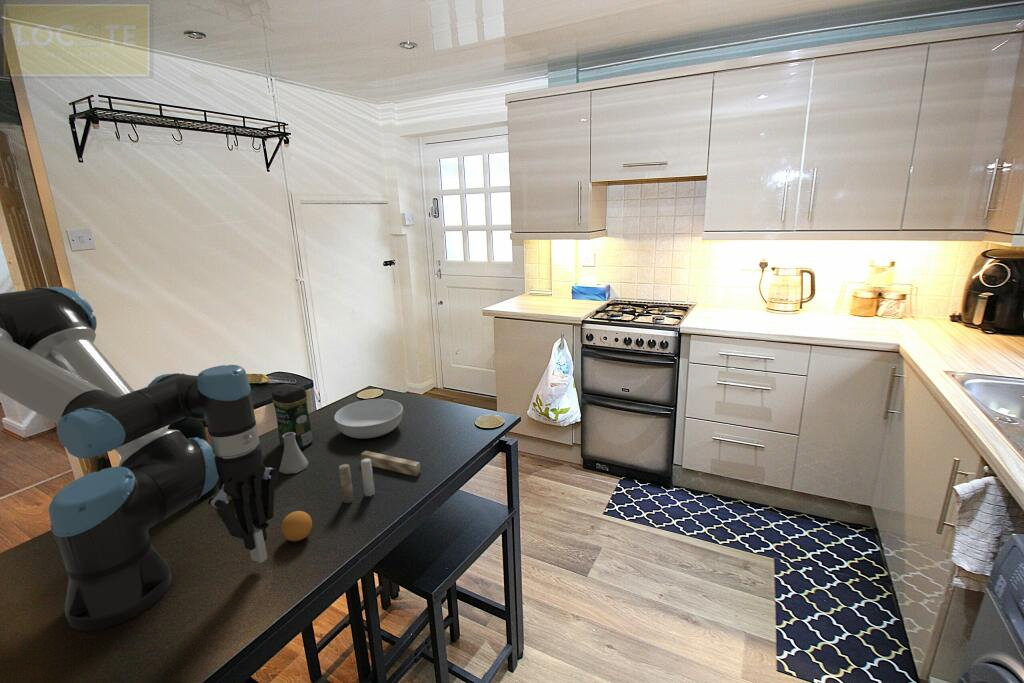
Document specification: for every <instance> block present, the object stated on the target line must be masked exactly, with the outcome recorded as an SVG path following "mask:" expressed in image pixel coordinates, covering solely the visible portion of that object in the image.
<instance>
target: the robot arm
mask: <svg viewBox="0 0 1024 683" xmlns="http://www.w3.org/2000/svg"><path fill="white" fill-rule="evenodd" d="M93 313H94V310H93V307H92V306H91V304H89V302H88V301H87V300H86V299H85V298H84V296H82V295H81V294H80V293H78V292H76V291H75V290H73V289H70V288H67V287H65V286H64V287H63V286H48V287H46V286H39V287H33V288H30V289H28V290H27V289H25V290H19V291H18V290H17V291H10V292H3V293H0V393H1V394H2V395H4V396H6V397H8V398H9V399H12V400H13V401H15V402H16V403H18V404H20V405H22V406H24V407H26V408H27V409H30V410H31V411H33V412H34V413H36V414H38V415H40V416H42V417H43V418H45V419H47V420H49V421H51V422H53V423H55V424H56V435H57V437H58V441H59V443H60V444H61V446H62V447H64V448H65V449H66V450H67V453H69V454H70V455H71V456H72V457H75V458H78V459H90V458H94V457H96V456H99V455H102V454H104V453H108V452H112V451H114V450H115V451H116V453H117V454H118V455H119V456H120V461H119V463H118V466H111V467H107V468H102V469H101V470H99V471H92V472H90V473H88V474H85V475H82V476H80V477H78V478H77V479H75V480H74V481H72V482H70V483H68V484H67V485H66V486H64V487H62V489H60V490H59V491H58V492H57V493H56V494H55V495H54V496H53V498H52V500H51V502H50V503H49V506H48V515H49V516H48V517H49V521H50V530H51V532H52V533H53V535H54V538H55V541H56V543H57V546H58V549H59V551H60V555H61V558H62V560H63V563H64V567H65V570H66V573H67V577H68V581H67V582H68V583H67V590H66V596H65V604H64V614H65V618H66V620H67V623H69V624H68V626H70V627H71V628H72V629H74V630H75V631H76V630H77V631H81V630H82V632H87V631H88V632H89V631H90V632H92V631H98V630H103V629H107V628H108V629H109V628H111V627H113V626H116V624H117V625H119V624H122V623H123V622H126V621H129V620H130V619H133V618H135V617H136V616H138V615H140V614H141V613H144V612H145V611H146V610H148V609H149V608H151V607H152V606H153V605H154V604H156V603H158V602H159V600H160V599H161V598H162V597H163V596H164V595H165V594H166V593H167V592H168V590H169V588H170V587H171V585H172V582H173V575H172V571H171V567H170V565H169V563H168V561H166V560H165V559H164V557H163V556H162V555H161V554H160V553H159V552H158V551H157V549H156V548H155V547H154V546H153V545H152V542H151V539H150V535H149V530H150V528H152V527H154V526H155V525H157V524H158V523H160V522H162V521H164V520H165V519H167V518H169V517H170V516H171V515H173V514H175V513H176V512H178V511H180V510H181V509H183V508H185V507H186V506H188V505H190V504H191V502H192V503H194V502H193V501H196V500H198V499H199V498H200V497H201V496H202V495H204V494H205V493H207V492H208V491H210V490H211V489H212V488H213V487H214V486H215V485H216V483H217V484H218V479H219V480H220V481H219V485H218V489H219V492H217V494H216V495H215V497H209V499H208V501H207V504H208V505H209V506H211V507H212V508H213V509H215V510H216V511H217V513H218V516H220V519H221V520H222V522H223V524H224V525H225V528H226V529H227V531H228V532H229V534H230V536H231V537H234V538H237V539H240V540H243V545H244V548H245V549H246V550H249V553H250V554H249V555H250V559H251V560H252V561H254V562H257V563H259V564H262V563H263V562H265V561H266V560H267V559H268V554H267V548H266V542H265V541H267V538H268V534H267V530H266V529H267V528H268V527H270V526H269V525H270V523H269V520H272V519H273V517H274V509H275V508H274V507H275V503H274V502H275V482H276V478H277V475H278V472H279V470H278V469H276V468H273V467H270V466H265V465H264V457H263V451H262V446H261V445H260V437H259V431H258V426H257V422H256V421H257V420H256V414H255V408H254V404H253V398H252V391H251V390H252V388H251V387H252V386H251V385H250V383H249V382H250V381H249V379H248V374H247V372H246V370H245V368H244V367H242V365H241V366H240V365H237V364H228V365H225V364H223V365H218V366H212V367H209V368H206V369H204V370H201V371H200V372H199V373H198V374H197V375H191V374H185V373H177V372H176V373H164V374H160V375H158V376H156V377H155V378H154V379H153V380H152V381H151V382H150V383H148V384H147V386H145V387H143V388H140V389H138V390H134V389H133V387H131V386H130V384H129V383H128V382H127V381H126V379H124V378H123V377H122V375H121V374H120V373H119V372H118V370H117V369H116V368H115V367H114V366H113V364H111V362H110V361H109V360H108V359H107V357H106V356H105V355H104V354H103V353H102V352H101V351H100V349H99V348H98V347H97V345H96V344H94V342H95V340H96V338H97V336H96V335H97V334H96V330H97V327H98V326H97V323H98V322H97V317H96V315H94V314H93ZM187 417H192V418H197V419H199V420H200V419H202V420H203V419H204V420H205V421H206V422H205V423H206V426H207V432H208V434H209V440H210V444H209V442H208V441H207V442H206V441H205V440H203V439H200V438H189V439H186V438H185V436H184V435H183V434H182V433H181V432H180V431H179V430H170V429H167V426H168V427H169V425H170V424H172V423H175V422H177V421H179V420H182V419H184V418H187ZM260 484H261V486H260ZM227 496H228V497H230V498H231V499H230V500H231V502H232V503H233V504H234V505H233V506H234V510H235V513H234V510H233V509H232V507H231V505H229V500H228V498H227Z"/></svg>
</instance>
